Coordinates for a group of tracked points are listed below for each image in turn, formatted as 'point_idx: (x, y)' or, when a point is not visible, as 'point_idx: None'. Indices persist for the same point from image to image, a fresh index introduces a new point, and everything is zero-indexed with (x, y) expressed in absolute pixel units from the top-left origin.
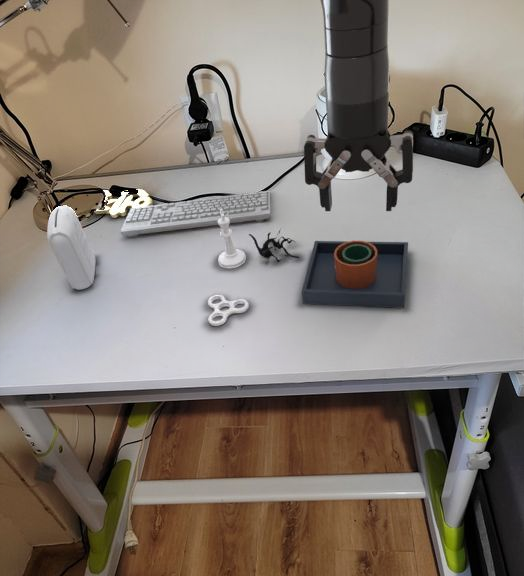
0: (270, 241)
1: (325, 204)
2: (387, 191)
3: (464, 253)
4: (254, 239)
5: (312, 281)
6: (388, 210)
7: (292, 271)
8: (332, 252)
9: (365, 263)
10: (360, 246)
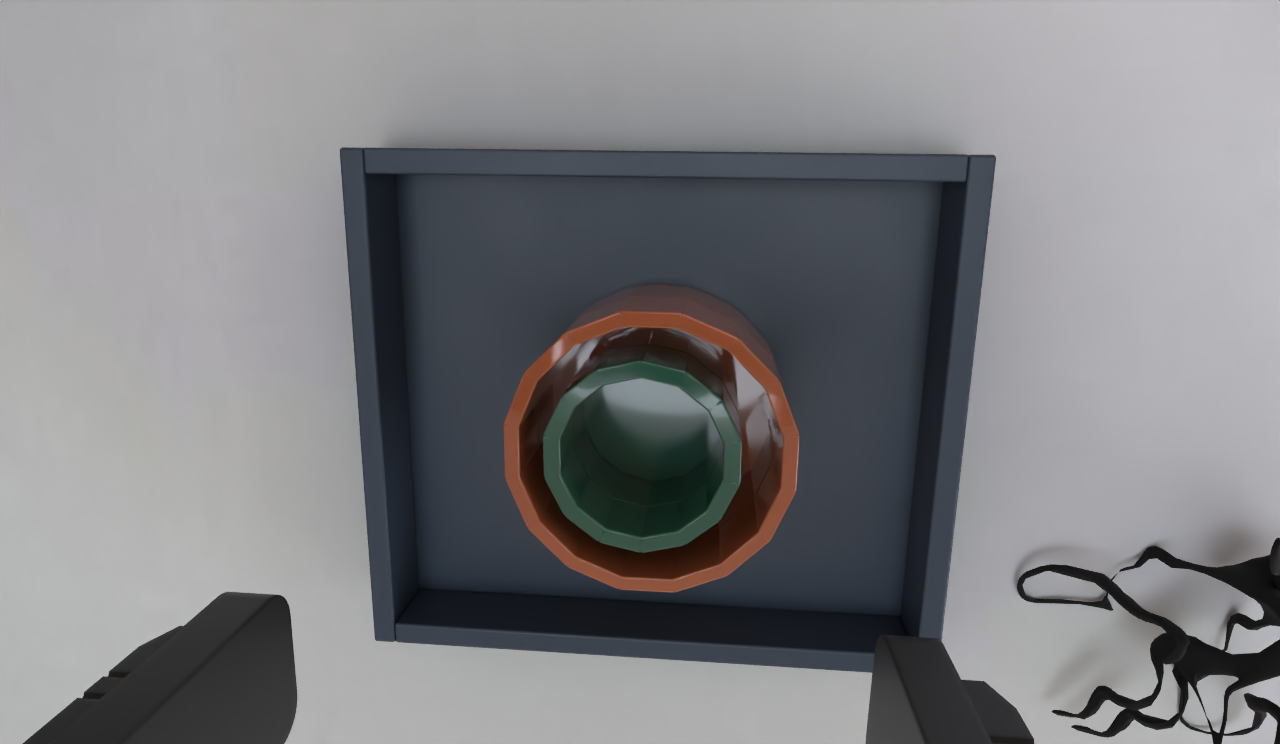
0: (1271, 651)
1: (953, 685)
2: (111, 741)
3: (137, 599)
4: None
5: (919, 348)
6: (254, 595)
7: (1050, 460)
8: (815, 612)
9: (571, 339)
10: (622, 529)
